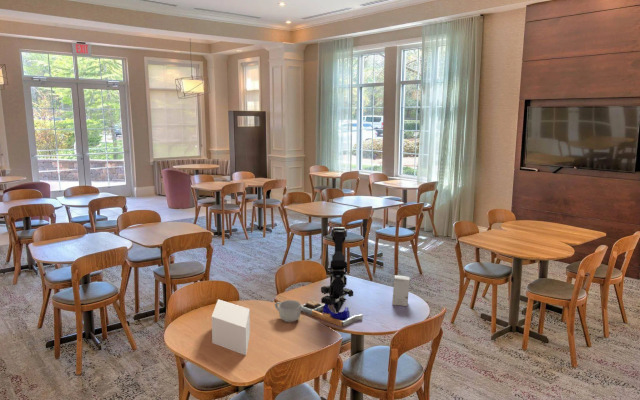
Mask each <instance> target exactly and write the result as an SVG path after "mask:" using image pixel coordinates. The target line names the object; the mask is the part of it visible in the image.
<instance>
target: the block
mask: <svg viewBox="0 0 640 400" xmlns="http://www.w3.org/2000/svg"><path fill="white" fill-rule="evenodd" d="M250 312H251V311H250V308H248V307H245V306H241V305H237V304H235V303H232V302H228V301H225V300H222V299H217V301H216V304H215V306H214V310H213V312H212V314H211V342H212V344H213V345H217V346H220V347H223V348H225V349H227V350H231V351H233V352H235V353H239V354H241V355H243V356H247V352H248V347H249V341H250V335H251V322H250V321H251V320H250V317H251V315H250V314H251V313H250Z"/></svg>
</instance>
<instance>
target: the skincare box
mask: <svg viewBox="0 0 640 400" xmlns="http://www.w3.org/2000/svg"><path fill="white" fill-rule="evenodd" d="M410 278H411V277H410V276H408V275H407V276H406V275H398V274H397V275H396V274H395V275H394V277H393V290H392V305H393V306H403V307H408V303H409V292H410V280H411V279H410Z"/></svg>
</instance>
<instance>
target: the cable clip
mask: <svg viewBox="0 0 640 400" xmlns="http://www.w3.org/2000/svg"><path fill="white" fill-rule="evenodd" d="M323 305H324V304H323ZM322 312H323V313H322V314H324V313H325V312H326V313H328V314H331V317H333V318H335V319H338V320H341V321H344V320H346V319H348V318H350V317H351V315H350V309H349V307H345V308H344V309H343V311H339V312H338V313H336V312H334V311H332V310H331V309H330V307H329V305H327V304H325V305H324V307H323V311H322Z"/></svg>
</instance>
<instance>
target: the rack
mask: <svg viewBox="0 0 640 400" xmlns="http://www.w3.org/2000/svg"><path fill="white" fill-rule="evenodd" d="M324 305H325V304H324V303H321V302H317V301H315V300H309V301H306V302H305V303H304V304H301V313H305V314H307V315H310V316H313V317H315V318H318V319H320V320H323V321H325V322H328V323H331V324H333V325H337V326H339V327H341V328H344V327H346V326H349V325H350V324H352V323H354V322H358V321H363V314H355V315H353V316H350V317H349V318H348V319H346V320H344V321H341V320H338V319H335V318H333V317H331V314H328V313H326V312H325V313H321V312H323V307H324Z"/></svg>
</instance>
